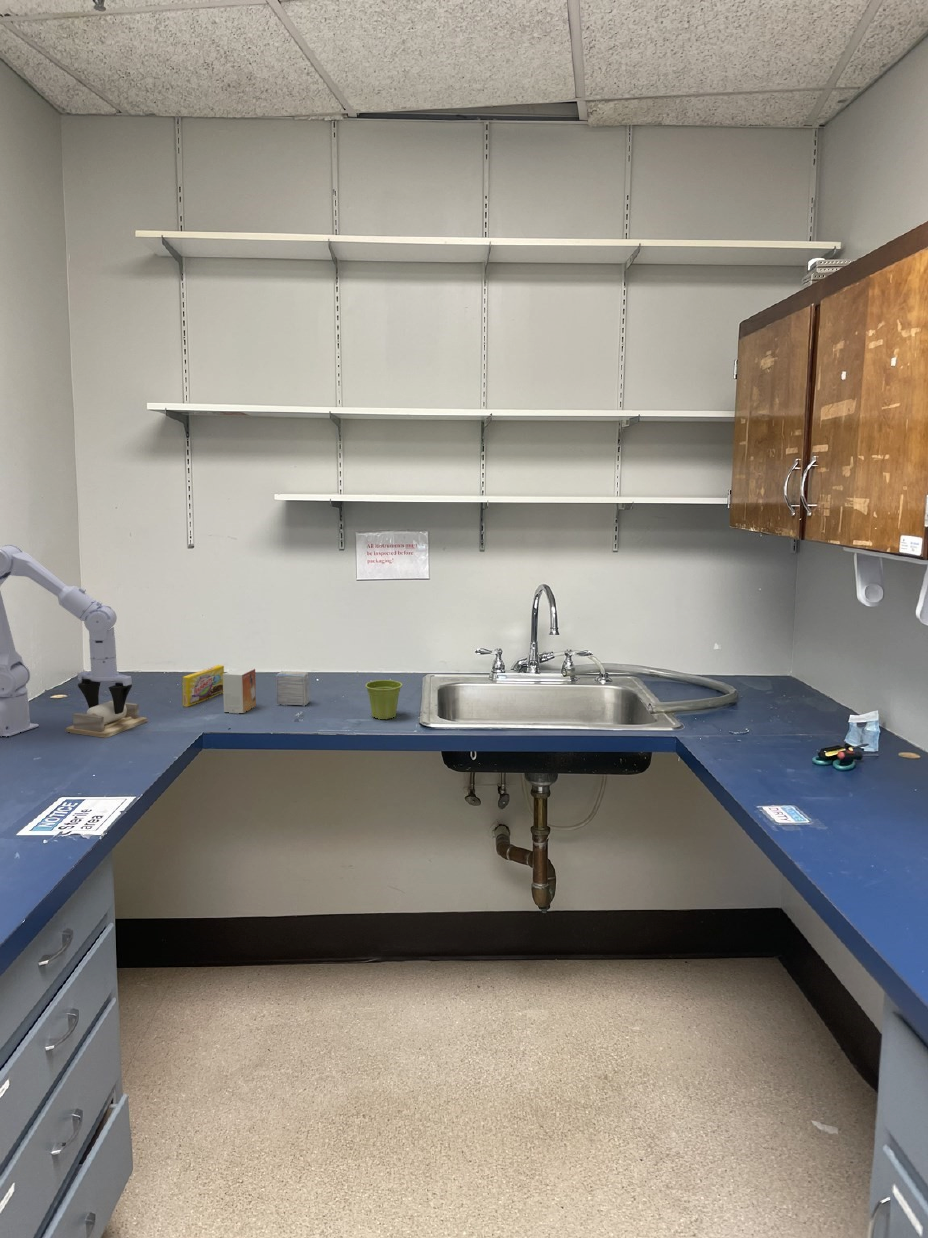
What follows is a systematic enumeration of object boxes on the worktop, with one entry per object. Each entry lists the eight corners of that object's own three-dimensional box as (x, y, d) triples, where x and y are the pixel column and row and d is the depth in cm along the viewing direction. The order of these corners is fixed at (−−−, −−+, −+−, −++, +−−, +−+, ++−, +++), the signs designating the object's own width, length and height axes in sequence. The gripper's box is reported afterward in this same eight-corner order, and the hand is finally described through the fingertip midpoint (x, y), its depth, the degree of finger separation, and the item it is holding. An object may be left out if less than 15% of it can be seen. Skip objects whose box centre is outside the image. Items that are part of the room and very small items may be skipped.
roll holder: (106, 737, 191) (105, 719, 190) (65, 732, 195) (64, 714, 194) (147, 721, 204) (146, 704, 203) (108, 716, 208) (107, 699, 207)
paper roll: (103, 728, 195) (102, 708, 194) (86, 726, 196) (85, 706, 195) (127, 719, 202) (126, 700, 201) (111, 717, 204) (110, 697, 203)
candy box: (189, 707, 218) (187, 677, 216) (182, 706, 218) (181, 676, 217) (225, 693, 233) (224, 664, 231) (218, 692, 233) (217, 664, 232)
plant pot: (396, 723, 206) (396, 690, 204) (360, 720, 208) (360, 687, 206) (406, 713, 215) (406, 681, 214) (372, 710, 217) (372, 679, 215)
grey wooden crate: (309, 702, 224) (309, 671, 223) (304, 706, 220) (304, 675, 218) (281, 701, 225) (281, 670, 223) (276, 705, 220) (275, 674, 219)
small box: (243, 714, 212) (241, 675, 210) (223, 713, 213) (221, 673, 211) (256, 706, 219) (255, 668, 218) (237, 705, 220) (236, 667, 219)
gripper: (139, 656, 198) (142, 710, 200) (91, 651, 203) (95, 704, 205) (118, 662, 191) (121, 717, 194) (69, 656, 196) (73, 711, 198)
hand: (106, 711), depth 199 cm, fingers open, 7 cm apart
